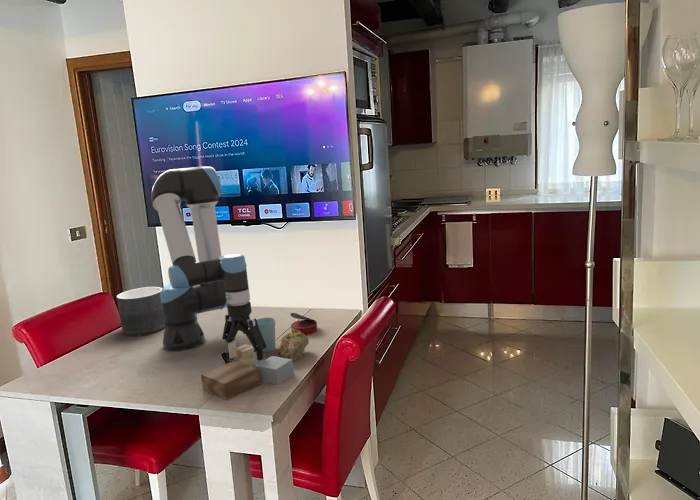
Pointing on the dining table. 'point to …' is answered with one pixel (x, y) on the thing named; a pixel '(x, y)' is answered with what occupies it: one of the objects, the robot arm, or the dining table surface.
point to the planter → (141, 311)
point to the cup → (267, 332)
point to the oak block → (244, 354)
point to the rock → (293, 345)
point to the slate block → (275, 369)
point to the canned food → (303, 325)
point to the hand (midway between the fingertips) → (246, 364)
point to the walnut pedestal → (230, 379)
